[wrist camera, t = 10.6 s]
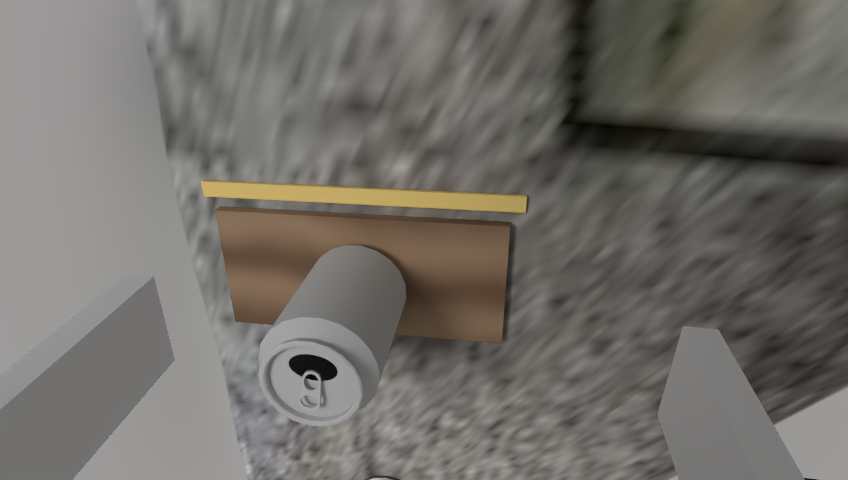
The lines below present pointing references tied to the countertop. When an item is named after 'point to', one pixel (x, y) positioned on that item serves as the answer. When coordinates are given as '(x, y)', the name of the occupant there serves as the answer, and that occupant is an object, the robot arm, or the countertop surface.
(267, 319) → the board
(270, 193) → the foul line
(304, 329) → the can
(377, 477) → the cup
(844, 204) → the countertop surface
